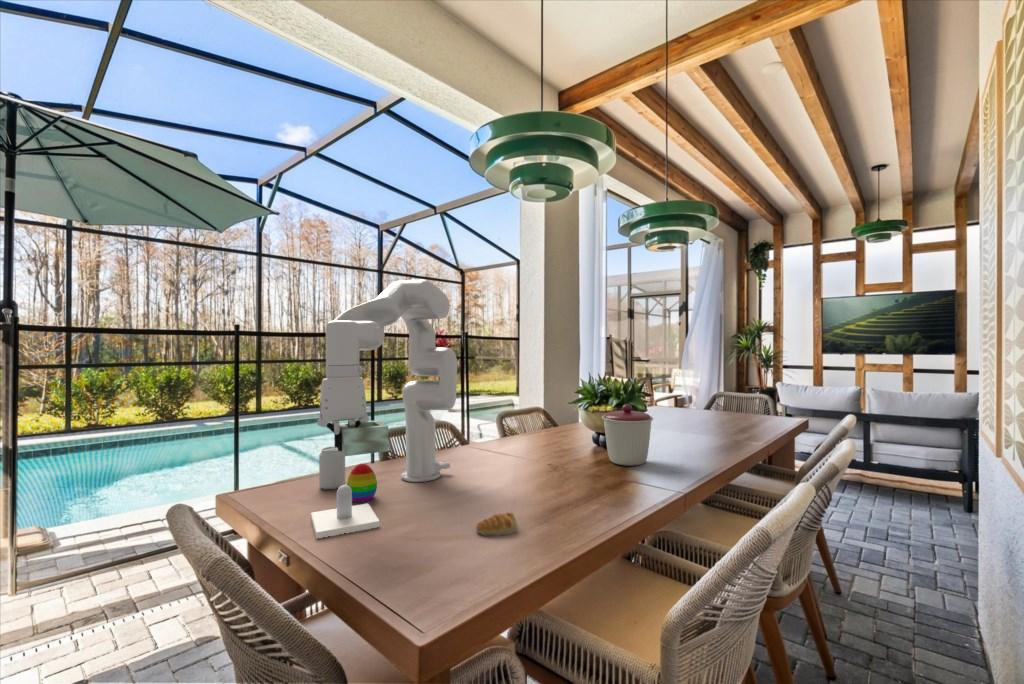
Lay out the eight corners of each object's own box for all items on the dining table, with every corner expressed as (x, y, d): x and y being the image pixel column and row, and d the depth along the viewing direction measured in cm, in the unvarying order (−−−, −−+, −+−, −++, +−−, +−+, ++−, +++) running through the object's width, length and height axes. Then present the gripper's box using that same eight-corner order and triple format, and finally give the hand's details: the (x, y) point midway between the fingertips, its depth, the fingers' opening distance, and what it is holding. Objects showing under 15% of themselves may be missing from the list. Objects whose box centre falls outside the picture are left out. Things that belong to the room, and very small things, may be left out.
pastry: (482, 540, 105) (482, 523, 105) (472, 530, 112) (472, 513, 112) (520, 533, 109) (520, 516, 109) (508, 523, 115) (508, 507, 115)
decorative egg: (373, 503, 130) (373, 467, 130) (343, 504, 129) (342, 468, 129) (379, 494, 138) (379, 459, 138) (351, 494, 137) (351, 460, 137)
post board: (368, 508, 125) (367, 474, 125) (379, 527, 113) (379, 488, 113) (311, 518, 119) (310, 481, 119) (316, 539, 107) (316, 498, 106)
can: (313, 489, 143) (313, 449, 143) (331, 482, 150) (331, 444, 150) (333, 492, 140) (332, 451, 140) (350, 484, 147) (350, 446, 147)
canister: (623, 471, 159) (622, 409, 159) (592, 459, 175) (591, 402, 175) (664, 465, 166) (664, 405, 166) (631, 454, 183) (631, 400, 183)
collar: (378, 443, 121) (378, 420, 121) (388, 451, 112) (388, 426, 112) (337, 448, 116) (337, 423, 116) (344, 456, 108) (344, 430, 108)
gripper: (372, 370, 119) (373, 442, 119) (305, 372, 112) (306, 450, 112) (379, 371, 113) (380, 448, 113) (309, 374, 105) (310, 457, 105)
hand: (344, 449), depth 112 cm, fingers closed on collar, 1 cm apart
